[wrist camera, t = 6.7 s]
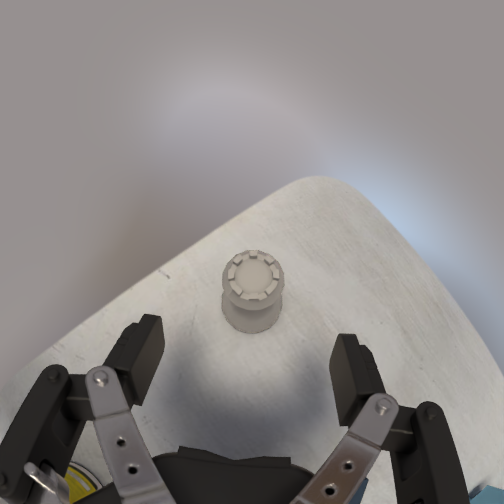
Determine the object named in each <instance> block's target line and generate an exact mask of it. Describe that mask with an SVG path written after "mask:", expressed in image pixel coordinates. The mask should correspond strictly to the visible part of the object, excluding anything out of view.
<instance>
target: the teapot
mask: <svg viewBox="0 0 504 504" xmlns="http://www.w3.org/2000/svg"><path fill="white" fill-rule="evenodd" d="M469 500H470V504H504V490H502V489H498V488H495V487H492V486H489V485H487V486H486V487H485V488H484V489H483V490H482V491H481V492H480V493H479V494H478V495H476V496H475V497H474V498H473V499H472V500H471V498H469Z"/></svg>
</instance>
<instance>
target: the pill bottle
mask: <svg viewBox="0 0 504 504" xmlns="http://www.w3.org/2000/svg"><path fill="white" fill-rule="evenodd" d="M64 479H65V480H66V481H67V483H68V485H69V489H70V493H69V501H70V504H72V503H74V502H75V501H77V500H79V499H81V498H83V497H85V496H87V495H89V494H91V493H93V492H95V491H97V490H99V489H100V488H102V486H101V484H100V483H99V482H98V480H97V479H96V478H95V477H94V476H93V475H92V474H91V473H90V472H88V471H87V470H86V469H84V468H83V467H81V466H79V465H77V464H74V463H71V462H70V464H69V466H68V469H67V472H66V475H65V478H64ZM0 504H9V503H7V502H6V501H5V500H4V499H2V498H0Z"/></svg>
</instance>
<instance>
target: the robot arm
mask: <svg viewBox="0 0 504 504" xmlns="http://www.w3.org/2000/svg"><path fill="white" fill-rule="evenodd" d="M164 348H165V340H164V333H163V325H162V318H161V316H156V315H150V314H144V315H143V316H142V318H141V320H140V321H139V323H132V324H131V325H129V326H128V327H126V328H125V329H124V331H123V332H122V334H121V336H120V338H119V339H118V340H117V343H116V344H115V345H114V347H113V349H112V350H111V352H110V353H109V355H108V357H107V358H106V360H105V362H104V363H103V365H102V366H97V367H94V368H92V369H91V370H89V371H88V373H87V374H69V373H68V371H67V369H66V368H65V367H64V366H62V365H58V364H55V365H50V366H48V367H46V368H45V369H44V370H43V371H42V373H41V374H40V376H39V377H38V379H37V380H36V382H35V384H34V385H33V387H32V388H31V390H30V392H29V393H28V395H27V397H26V398H25V400H24V402H23V404H22V405H21V407H20V409H19V411H18V412H17V414H16V416H15V418H14V420H13V421H12V423H11V425H10V427H9V429H8V431H7V433H6V435H5V437H4V439H3V441H2V443H1V445H0V498H2V499H4V500H5V501H6V502H7V503H9V504H70V501H69V493H70V489H69V485H68V483H67V481H66V480H65V479H64V478H65V475H66V472H67V469H68V466H69V464H70V461H71V458H72V456H73V453H74V450H75V448H76V445H77V443H78V440H79V438H80V435H81V433H82V430H83V428H84V426H85V423H86V421H87V420H89V421H93V424H94V428H95V431H96V434H97V437H98V441H99V444H100V447H101V450H102V452H103V455H104V458H105V461H106V464H107V466H108V469H109V471H110V474H111V476H112V479H113V482H111V483H109V484H108V485H106V486H104V487H102V488H100V489H99V490H97V491H95V492H93V493H91V494H89V495H87V496H85V497H83V498H81V499H79V500H77V501H75V502H74V503H72V504H348V503H349V502H350V500H351V499H352V497H353V496H354V494H355V493H356V491H357V490H358V488H359V487H360V485H361V484H362V482H363V481H364V479H365V477H366V476H367V474H368V473H369V471H370V469H371V468H372V466H373V464H374V462H375V461H376V459H377V457H378V455H379V454H380V452H381V450H385V451H390V457H391V463H392V469H393V475H394V482H395V489H396V497H397V504H470V500H469V496H468V491H467V487H466V483H465V479H464V475H463V471H462V468H461V464H460V461H459V457H458V454H457V451H456V447H455V444H454V441H453V438H452V435H451V432H450V429H449V426H448V423H447V420H446V418H445V415H444V412H443V410H442V408H441V407H440V406H439V405H437V404H436V403H434V402H429V401H426V402H423V403H421V404H420V405H419V406H418V407H417V408H410V407H404V406H400V405H398V403H397V401H396V400H395V399H394V398H393V397H392V396H390V395H388V394H386V391H385V388H384V385H383V382H382V379H381V377H380V374H379V371H378V369H377V365H376V363H375V360H374V357H373V355H372V352H371V351H370V350H369V349H368V348H367V347H366V346H365V345H359V342H358V339H357V336H356V335H355V334H338V336H337V339H336V342H335V345H334V348H333V351H332V354H331V357H330V363H329V369H330V375H331V380H332V386H333V391H334V396H335V402H336V408H337V413H338V419H339V425H340V426H348V429H349V430H348V431H347V433H346V434H345V435H344V437H343V438H342V440H341V441H340V442H339V444H338V445H337V447H336V448H335V449H334V451H333V452H332V453H331V455H330V456H329V457H328V459H327V460H326V461H325V463H324V464H323V465H322V466H321V468H320V469H319V470H318V471H317V473H316V474H315V475H314V474H313V473H312V472H310V471H308V470H307V469H305V468H302V467H300V466H297V465H294V464H291V457H267V456H262V457H255V458H248V459H240V460H232V459H229V458H226V457H223V456H220V455H217V454H214V453H212V452H209V451H206V450H200V449H194V448H188V447H183V446H179V449H178V452H172V453H165V454H161V455H158V456H155V457H153V458H152V457H151V455H150V453H149V451H148V449H147V447H146V445H145V443H144V440H143V438H142V436H141V434H140V432H139V429H138V427H137V425H136V422H135V420H134V418H133V415H132V413H131V409H132V406H133V404H135V405H139V406H142V404H143V401H144V399H145V396H146V394H147V391H148V389H149V386H150V384H151V381H152V379H153V377H154V374H155V372H156V369H157V367H158V365H159V362H160V360H161V358H162V355H163V352H164Z"/></svg>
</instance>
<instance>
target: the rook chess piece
mask: <svg viewBox="0 0 504 504" xmlns="http://www.w3.org/2000/svg"><path fill="white" fill-rule="evenodd" d="M222 286H223V289H224V292H223V294H222V310H223V313H224V315H225V318H226V320H227V321H228V322H229V323H230V324H231V325H232V326H233V327H234V328H235V329H238V330H240V331H243V332H245V333H259V332H261V331H263V330H266V329H268V328H270V327H271V326H272V325H273V324H274V323H275V321H276V320H277V319H278V317H279V314H280V311H281V309H282V295H281V293H282V290H283V287H284V272H283V270H282V268H281V266H280V264H279V262H278V261H276V260H275V259H274V258H273V257H272V256H271V255H270V254H267V253H264V252H262V251H259V250H248V251H245V252H242V253H239V254H237V255H235V256H234V257H233V258H232V259H231V260H230V261H229V262H228V263H227V265H226V267H225V269H224V271H223V274H222Z"/></svg>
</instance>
